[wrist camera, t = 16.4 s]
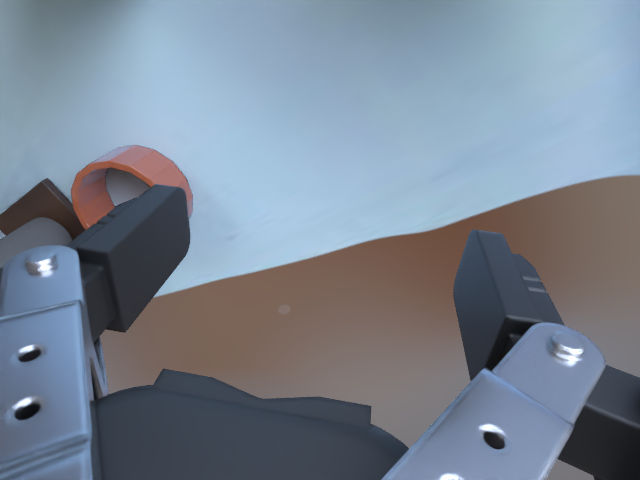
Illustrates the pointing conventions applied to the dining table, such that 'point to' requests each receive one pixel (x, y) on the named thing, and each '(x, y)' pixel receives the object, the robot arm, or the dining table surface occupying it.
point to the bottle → (32, 238)
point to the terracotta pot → (135, 159)
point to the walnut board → (42, 210)
